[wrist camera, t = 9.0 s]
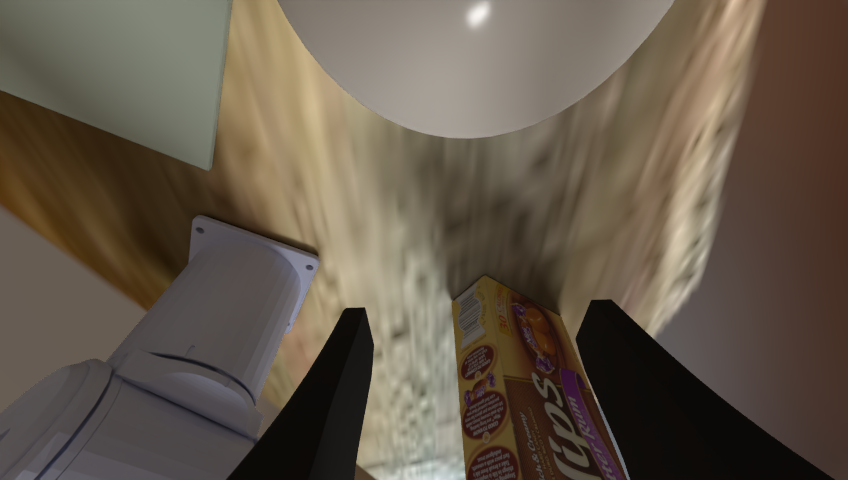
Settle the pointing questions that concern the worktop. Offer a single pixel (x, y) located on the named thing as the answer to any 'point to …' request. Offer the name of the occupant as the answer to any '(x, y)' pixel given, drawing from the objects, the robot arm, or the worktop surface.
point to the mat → (122, 67)
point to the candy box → (524, 393)
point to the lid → (471, 56)
